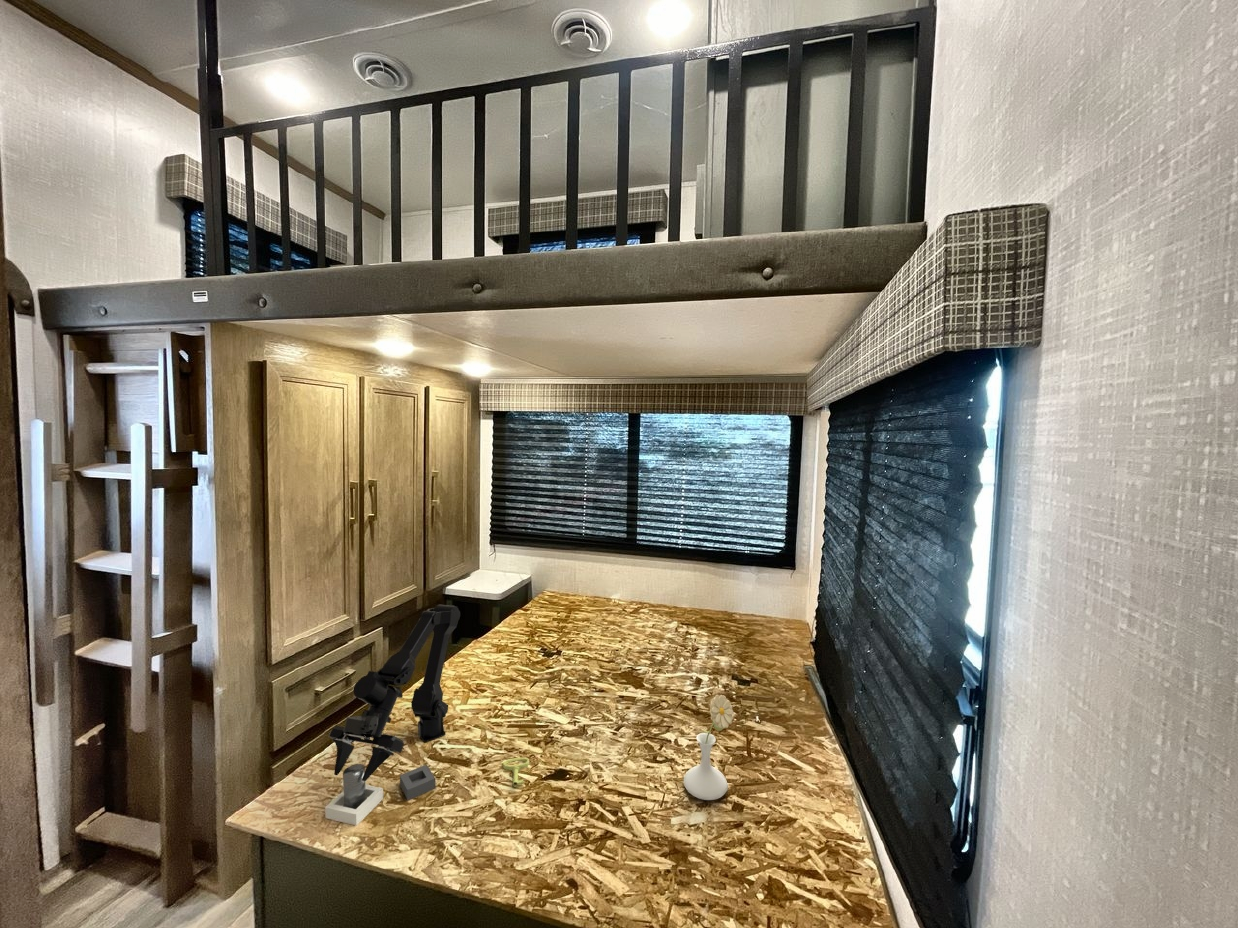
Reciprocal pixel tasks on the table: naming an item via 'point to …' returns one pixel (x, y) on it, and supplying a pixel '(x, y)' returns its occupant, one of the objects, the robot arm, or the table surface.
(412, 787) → the block
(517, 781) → the key
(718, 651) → the table surface
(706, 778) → the flower in vase
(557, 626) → the table surface
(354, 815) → the tray
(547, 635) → the table surface
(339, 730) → the robot arm
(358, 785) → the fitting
